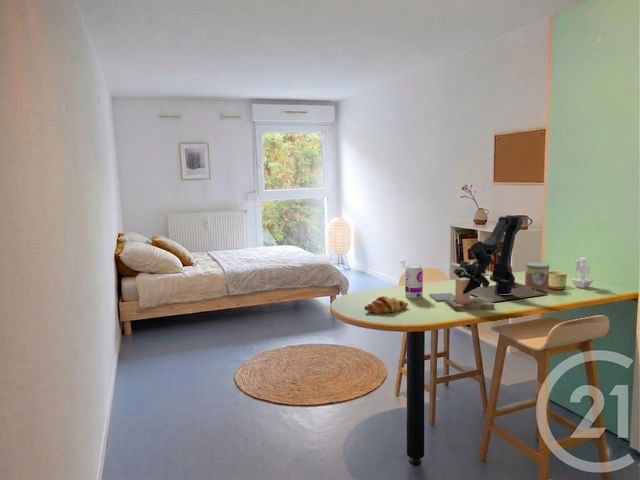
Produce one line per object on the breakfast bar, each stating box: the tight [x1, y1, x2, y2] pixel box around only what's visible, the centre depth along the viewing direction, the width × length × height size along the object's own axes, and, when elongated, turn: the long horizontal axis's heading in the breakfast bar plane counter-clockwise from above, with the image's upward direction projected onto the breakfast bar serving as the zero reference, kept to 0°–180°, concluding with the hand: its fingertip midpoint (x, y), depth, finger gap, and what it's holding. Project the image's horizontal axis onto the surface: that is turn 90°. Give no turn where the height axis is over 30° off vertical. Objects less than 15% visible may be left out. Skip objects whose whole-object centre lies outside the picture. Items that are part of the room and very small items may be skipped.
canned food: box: [524, 261, 550, 291], centre depth 252 cm, size 11×11×12 cm
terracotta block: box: [454, 277, 471, 304], centre depth 221 cm, size 4×4×12 cm
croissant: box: [363, 296, 409, 314], centre depth 217 cm, size 21×10×8 cm, turn 110°
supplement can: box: [404, 264, 424, 300], centre depth 238 cm, size 8×8×15 cm
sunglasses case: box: [489, 273, 520, 286], centre depth 263 cm, size 18×7×7 cm
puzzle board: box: [444, 296, 495, 311], centre depth 222 cm, size 18×12×2 cm
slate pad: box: [428, 292, 455, 302], centre depth 236 cm, size 11×11×1 cm
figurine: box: [570, 257, 594, 289], centre depth 250 cm, size 7×9×15 cm
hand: (460, 291), depth 221 cm, fingers closed on terracotta block, 4 cm apart
